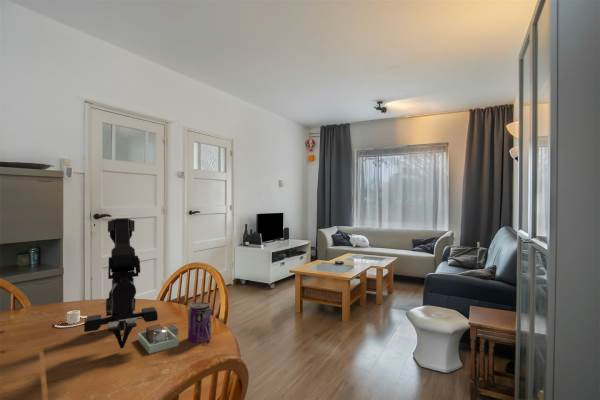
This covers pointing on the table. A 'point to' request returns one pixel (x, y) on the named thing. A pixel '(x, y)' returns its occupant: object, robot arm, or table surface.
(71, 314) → the candle holder
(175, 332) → the buffer stop
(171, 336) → the shallow open crate
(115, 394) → the table surface
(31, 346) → the table surface
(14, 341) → the table surface
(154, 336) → the metal part
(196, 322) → the beverage can
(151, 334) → the walnut block
